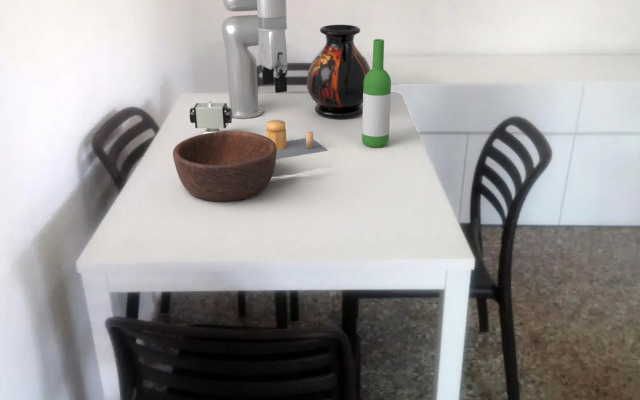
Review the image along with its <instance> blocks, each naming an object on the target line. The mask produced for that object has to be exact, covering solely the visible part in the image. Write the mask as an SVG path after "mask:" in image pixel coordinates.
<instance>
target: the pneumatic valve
mask: <svg viewBox="0 0 640 400" xmlns="http://www.w3.org/2000/svg"><path fill="white" fill-rule="evenodd" d="M228 107H229V105H228V103H227V102H222V103H221V102H220V103H219V102H213V101H210V100H208V102H196V104H195V105H194V106H193V107H190V109H189V122H190V123H191V124H193V126H194V127H195V129H205V131H203V133H202V134H207V133H213V132H222V131H221V130H220V129H226V128H227V126H228V125H229V124H232V122H233V117H232V109H231V108H228Z"/></svg>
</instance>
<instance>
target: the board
mask: <svg viewBox="0 0 640 400" xmlns="http://www.w3.org/2000/svg"><path fill="white" fill-rule="evenodd" d="M328 151H329V150H328V149H327V148H326V147H325V146H323V145H322V144H321V143H319V142H318V141H317V140H315V139H314V132H313V131H306V132H305V138H298V139H294V140H293V139H291V140H286V147H285V148H284V149H280V150H277V153H276V160H280V159H287V158H292V157H297V156H304V155H310V154H311V155H312V154H316V153H320V152H321V153H323V152H328Z"/></svg>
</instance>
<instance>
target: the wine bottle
mask: <svg viewBox="0 0 640 400" xmlns="http://www.w3.org/2000/svg"><path fill="white" fill-rule="evenodd" d="M372 43H373V44H372V45H373V46H372V47H373V49H372V65H371V66H372V67H371V68H370V71H369V72H368V73H367V74H366V76H365V78H364V88H363V103H362V106H363V113H362V120H361V122H362V124H361V125H362V126H361V127H362V128H361V132H362V133H361V141H362V143H363V145H364V146H366V147H369V148H382V147H385V146H387V145H388V144H389V138H390V123H391V122H390V119H391V118H390V117H391V116H390V115H391V99H392V98H391V97H392V96H391V95H392V94H391V93H392V80H391V76H390V74H389V73H388V72H387V71H386V70H385V69H384V60H385V59H384V55H385V40H384V39H382V38H376V39H373V42H372Z"/></svg>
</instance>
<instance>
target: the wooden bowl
mask: <svg viewBox="0 0 640 400" xmlns="http://www.w3.org/2000/svg"><path fill="white" fill-rule="evenodd" d="M276 153H277V147H276V144H275V143H274V142H273V141H272V140H271V139H269V138H267V137H266V135H263V134H259V133H254V132H249V131H240V130H239V131H238V130H237V131H236V130H234V131H233V130H231V131H230V130H229V131H227V130H225V131H221V132H213V133H207V134H203V133H202V134H199V135H194V136H192V137H189V138H186V139H184V140H181V141H180V142H179V143H178V144H177V145H175V146H174V148H173V150H172V158H173V162H174V166H175V169H176V172H177V173H176V174H177V175H178V176H177V177H178V178H179V180H180V183H181V184H182V186H183V187H184V189H186V191H187V192H188V193H189V194H190V195H192V196H194V197H195V198H197V199H198V198H199V199H201V200H204V201H210V202H234V201H240V200H245V199H248V198H252V197H255V196H257V195H259V194H260V193H262V192H263V191H264V190H266V188H267V187H268V185H269V184H270V182H271V180H272V179H273V176H274V172H275V168H276V162H277V161H276V160H277V159H276Z"/></svg>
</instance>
